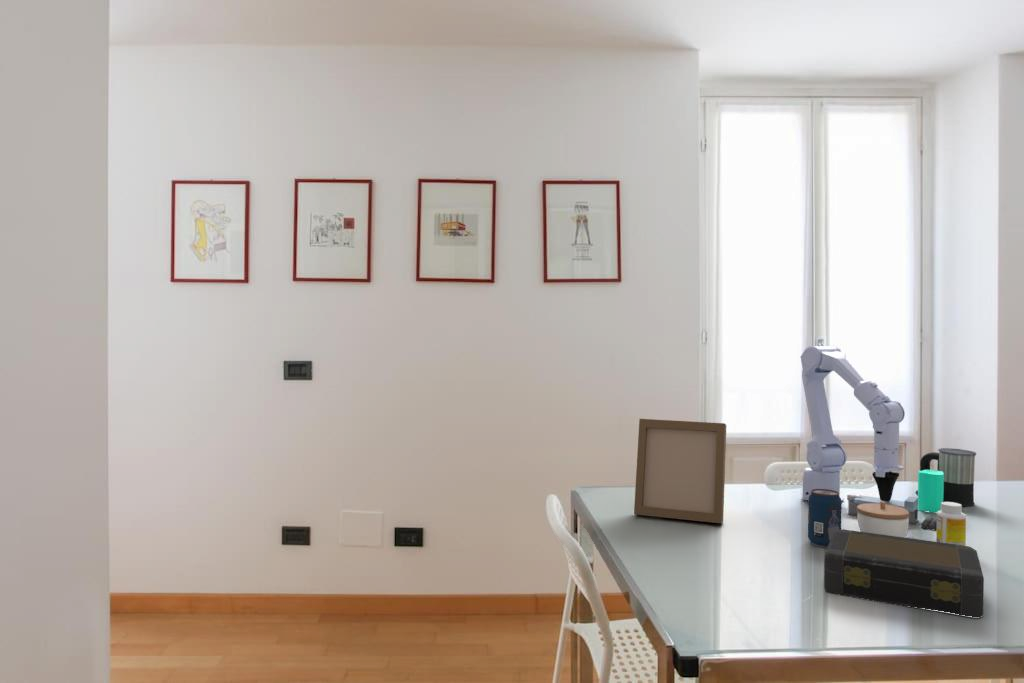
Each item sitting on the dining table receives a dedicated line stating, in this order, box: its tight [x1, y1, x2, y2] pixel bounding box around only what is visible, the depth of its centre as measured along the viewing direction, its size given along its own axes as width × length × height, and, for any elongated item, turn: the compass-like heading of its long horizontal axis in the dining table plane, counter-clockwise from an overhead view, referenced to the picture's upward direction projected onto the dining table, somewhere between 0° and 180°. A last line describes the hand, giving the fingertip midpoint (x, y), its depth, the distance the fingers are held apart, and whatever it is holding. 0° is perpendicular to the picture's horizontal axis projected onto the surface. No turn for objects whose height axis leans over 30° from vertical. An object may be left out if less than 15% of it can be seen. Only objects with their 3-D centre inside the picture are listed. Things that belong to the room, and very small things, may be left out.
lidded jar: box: [856, 501, 910, 538], centre depth 163 cm, size 11×11×9 cm
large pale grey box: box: [847, 500, 919, 526], centre depth 185 cm, size 16×6×3 cm, turn 51°
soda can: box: [807, 489, 843, 549], centre depth 161 cm, size 7×7×12 cm
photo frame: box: [633, 418, 727, 524], centre depth 185 cm, size 15×22×25 cm
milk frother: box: [915, 447, 977, 507], centre depth 199 cm, size 14×16×15 cm
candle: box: [917, 469, 944, 513], centre depth 192 cm, size 6×6×12 cm
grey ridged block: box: [920, 515, 937, 530], centre depth 177 cm, size 5×9×2 cm, turn 141°
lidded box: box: [846, 494, 918, 512], centre depth 185 cm, size 16×6×2 cm, turn 50°
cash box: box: [823, 528, 985, 618], centre depth 134 cm, size 25×20×8 cm
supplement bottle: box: [935, 502, 967, 546], centre depth 158 cm, size 6×6×10 cm
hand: (885, 500), depth 184 cm, fingers closed
